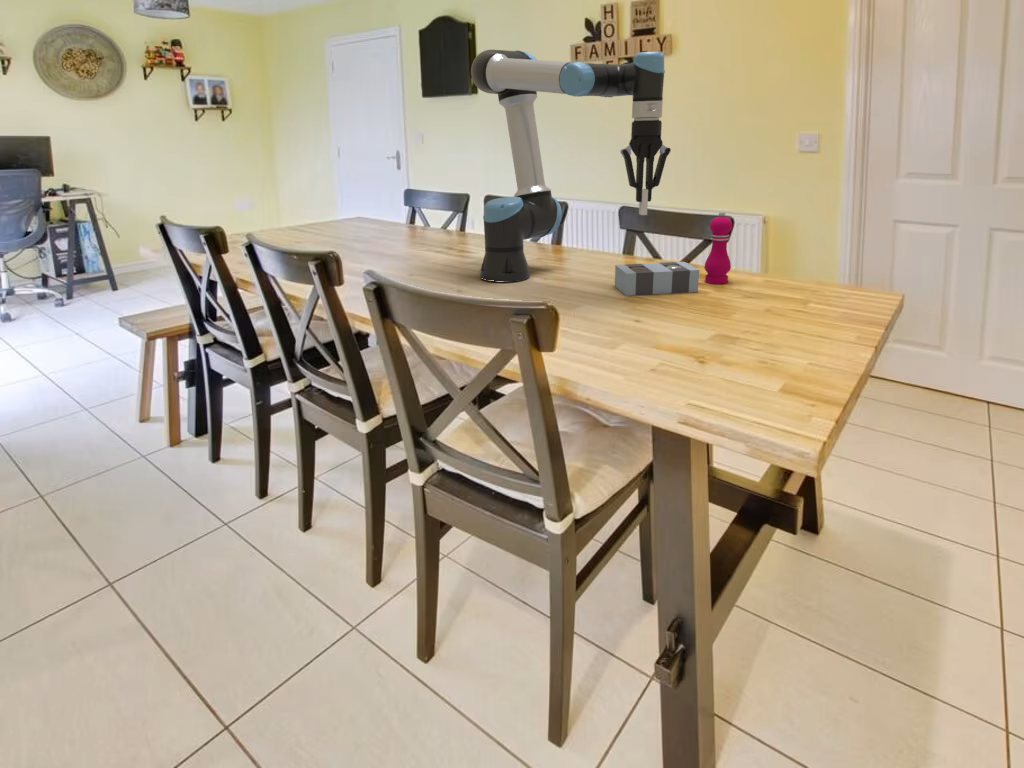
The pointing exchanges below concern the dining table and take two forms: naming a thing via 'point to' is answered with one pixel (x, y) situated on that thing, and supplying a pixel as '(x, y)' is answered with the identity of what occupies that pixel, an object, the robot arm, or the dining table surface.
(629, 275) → the socket block
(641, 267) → the walnut peg
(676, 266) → the grey metal peg
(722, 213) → the pepper mill
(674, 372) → the dining table surface
